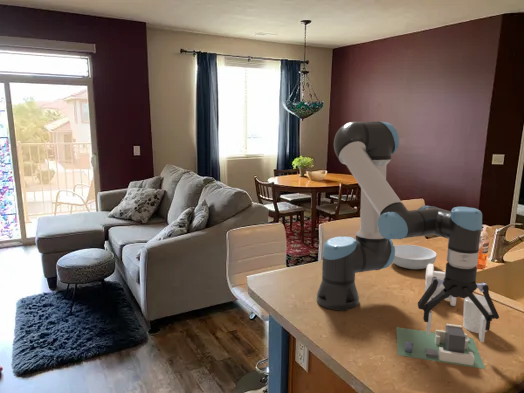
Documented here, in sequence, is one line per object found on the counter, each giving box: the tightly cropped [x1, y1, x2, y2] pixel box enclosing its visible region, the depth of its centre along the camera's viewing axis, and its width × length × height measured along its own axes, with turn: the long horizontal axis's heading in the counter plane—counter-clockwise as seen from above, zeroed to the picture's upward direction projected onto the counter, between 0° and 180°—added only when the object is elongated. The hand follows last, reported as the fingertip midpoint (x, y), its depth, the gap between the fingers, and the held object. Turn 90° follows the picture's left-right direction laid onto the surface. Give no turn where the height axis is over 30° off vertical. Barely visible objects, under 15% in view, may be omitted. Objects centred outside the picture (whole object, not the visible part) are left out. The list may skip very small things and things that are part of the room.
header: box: [434, 329, 474, 365], centre depth 112 cm, size 8×11×4 cm
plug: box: [444, 323, 466, 354], centre depth 111 cm, size 4×6×7 cm, turn 163°
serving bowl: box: [392, 244, 437, 270], centre depth 180 cm, size 21×21×7 cm
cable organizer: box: [424, 263, 457, 307], centre depth 146 cm, size 15×11×12 cm
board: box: [395, 326, 486, 370], centre depth 115 cm, size 22×16×3 cm
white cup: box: [462, 293, 491, 334], centre depth 125 cm, size 8×8×10 cm
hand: (454, 336), depth 111 cm, fingers open, 13 cm apart
